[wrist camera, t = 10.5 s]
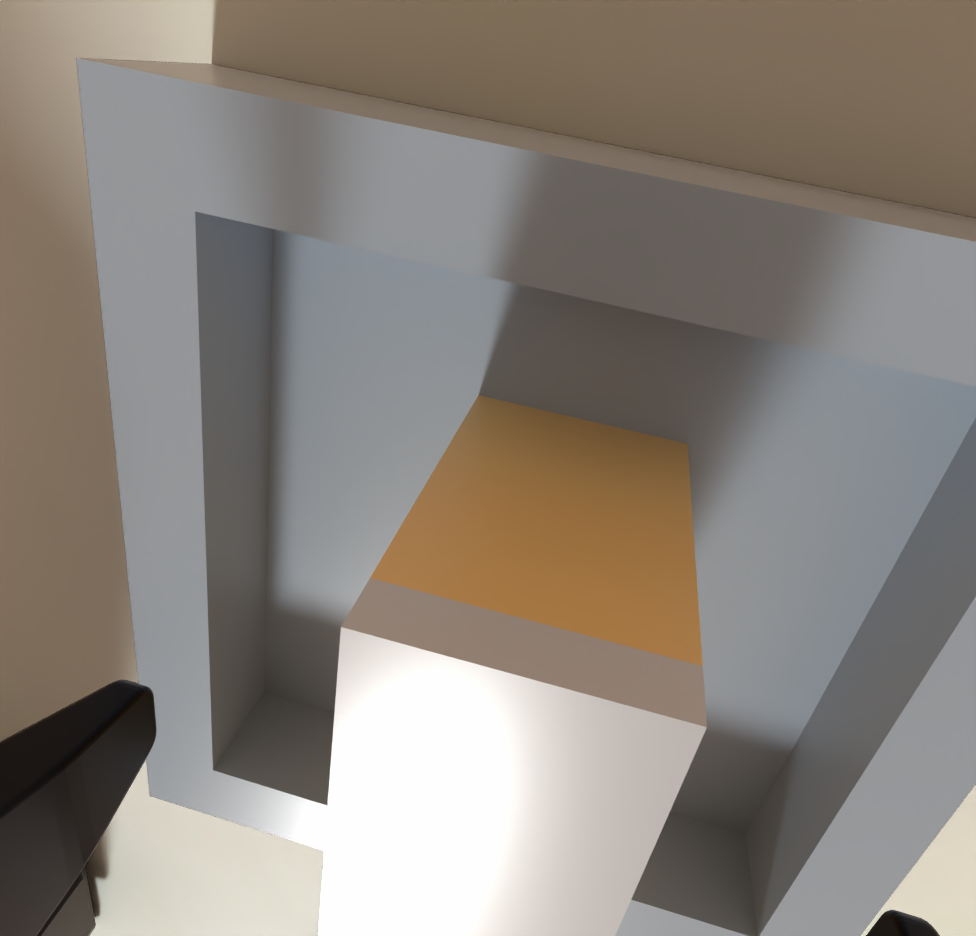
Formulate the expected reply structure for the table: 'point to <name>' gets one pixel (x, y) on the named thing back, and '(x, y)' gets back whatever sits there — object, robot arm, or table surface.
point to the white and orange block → (517, 687)
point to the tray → (559, 389)
